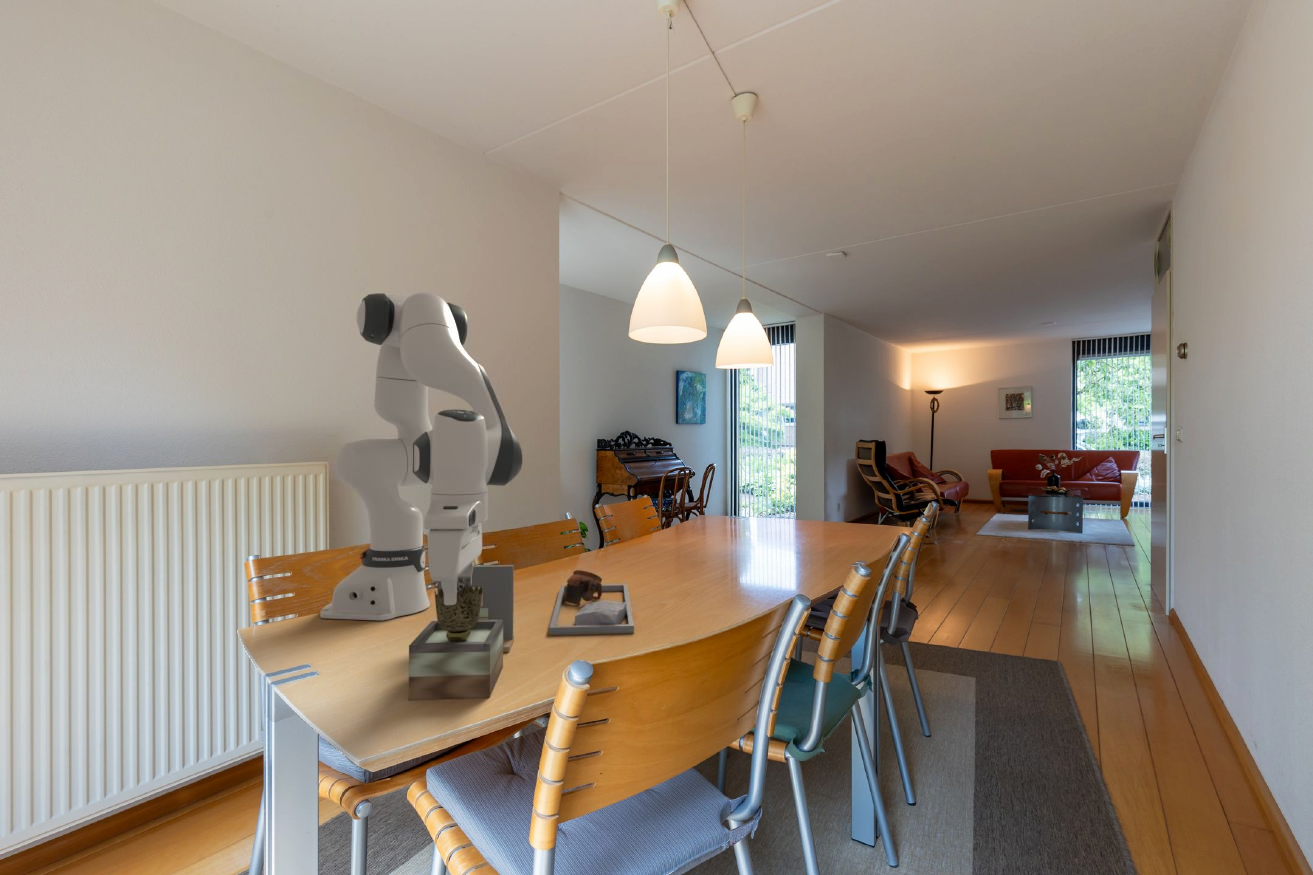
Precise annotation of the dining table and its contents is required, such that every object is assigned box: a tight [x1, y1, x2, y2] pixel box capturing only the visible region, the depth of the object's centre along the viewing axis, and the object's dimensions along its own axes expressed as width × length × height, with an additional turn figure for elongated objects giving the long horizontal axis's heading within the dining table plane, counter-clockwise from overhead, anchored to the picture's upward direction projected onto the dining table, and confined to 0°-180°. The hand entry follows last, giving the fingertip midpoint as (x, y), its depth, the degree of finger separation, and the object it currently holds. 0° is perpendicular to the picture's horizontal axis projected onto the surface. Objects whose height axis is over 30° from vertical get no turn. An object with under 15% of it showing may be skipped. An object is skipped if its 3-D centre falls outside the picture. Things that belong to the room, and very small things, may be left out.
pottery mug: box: [562, 569, 603, 606], centre depth 145 cm, size 12×10×8 cm
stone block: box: [574, 600, 627, 626], centre depth 128 cm, size 12×5×10 cm
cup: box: [434, 586, 483, 642], centre depth 96 cm, size 8×7×8 cm
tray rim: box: [548, 583, 635, 636], centre depth 137 cm, size 17×34×2 cm, turn 5°
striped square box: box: [408, 620, 504, 701], centre depth 96 cm, size 12×12×8 cm
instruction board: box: [436, 564, 515, 653], centre depth 112 cm, size 14×6×15 cm, turn 95°
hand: (458, 595), depth 96 cm, fingers open, 8 cm apart
